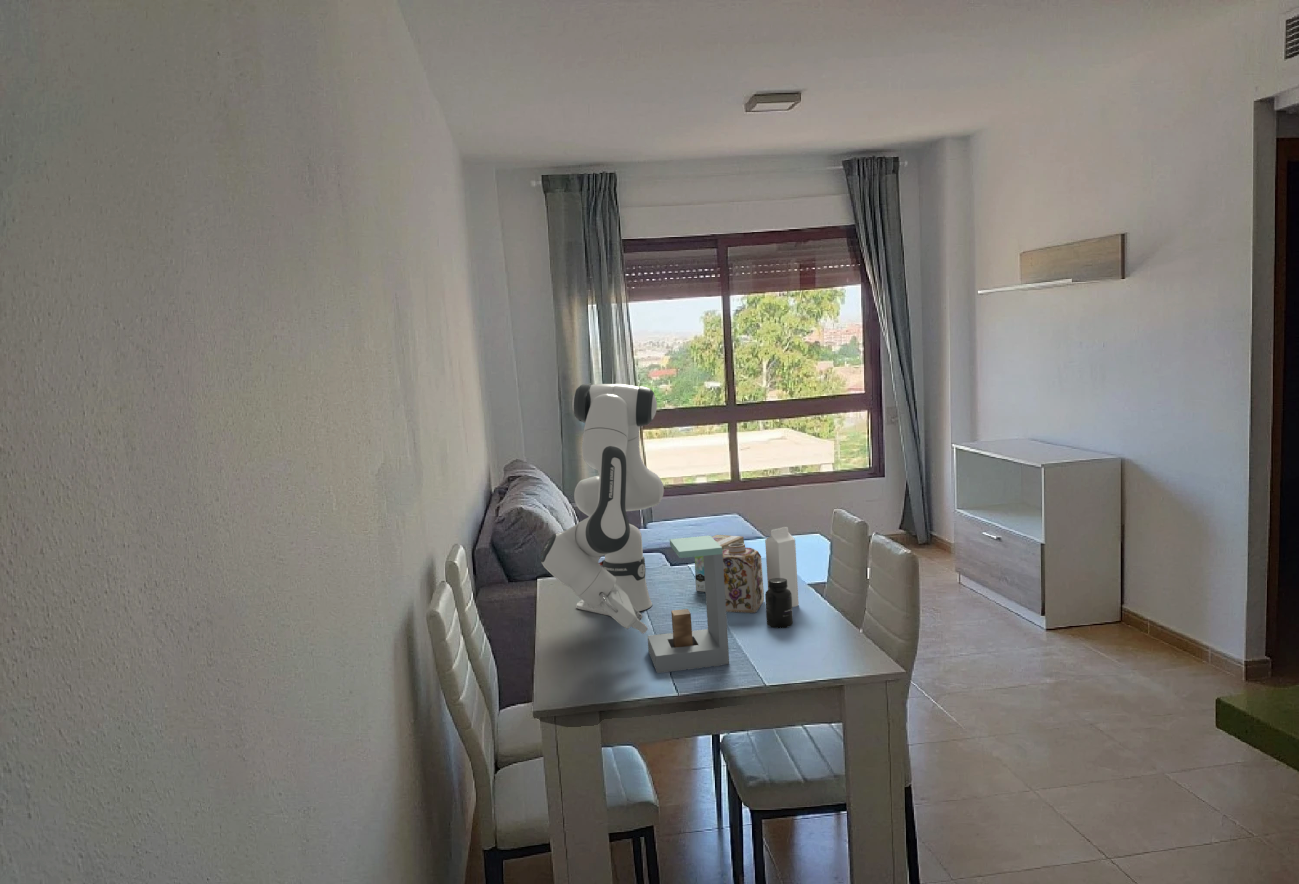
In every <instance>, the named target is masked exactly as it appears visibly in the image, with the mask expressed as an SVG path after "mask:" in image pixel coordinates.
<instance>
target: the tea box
mask: <svg viewBox="0 0 1299 884" xmlns="http://www.w3.org/2000/svg"><path fill="white" fill-rule="evenodd" d="M711 537H712V538H713V539H714V540H715V541H716V542H717V543H718V544H719V545H720V546H721V547H722V550H724V549H728V545H730V544H733V543H744V544H745V539H744V536H741V535H740V536H739V535H725V534H716V535H713V536H711ZM694 572H695V574H694V576H695V591H697V592H701V593H703V592H704V593H706V591H705V576H704V560H703V556H697V557H694Z"/></svg>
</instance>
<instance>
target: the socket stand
mask: <svg viewBox="0 0 1299 884" xmlns="http://www.w3.org/2000/svg"><path fill="white" fill-rule="evenodd" d="M712 537H713V536H711V535H701V536H700V535H699V536H693V537H682V538H681V537H680V538H670V539H669V546H670V547H671V549H672V550H673V551H674V553H675V554H676V555H677V556H678V558H679V559H685V558H695V557H697V556H703V560H704V576H705V591H706V592H705V605H706V607H705V608H706V619H707V622H706V623H707V629H698V630H697V629H696V630H692V640H693V646H685V647H676V648H674V643H673V632H671V633H670V632H669V633H661V634H660V633H659V634H652V635H647V646H648V647H647V648H648V649H647V650H648V653H649V656H650V659H651V661H652V663H653V666H654V668H655V670H656V671H655V672H656V673H657V674H660V673H670V672H679V671H686V669H688V670H694V668H697V669H703V668H702V667H705V668H711V667H710V666H714V667H721V666H723V665H729V664H730V655H729V653H730V652H729V637H728V619H727V612H726V601H725V585H724V569H723V552H722V547H721V546H720V545H719V544H718V543H717V542H716V541H715V540H714V539H713V538H712Z"/></svg>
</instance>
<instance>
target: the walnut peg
mask: <svg viewBox="0 0 1299 884" xmlns="http://www.w3.org/2000/svg"><path fill="white" fill-rule="evenodd" d="M670 613H671V614H670V615H671V626H672V633H673V643H674V648H676V647H685V646H693V640H692V631H693V627H692V613H691V611H690V610H689V608H682V609H674V610H671V612H670Z"/></svg>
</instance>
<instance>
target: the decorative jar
mask: <svg viewBox="0 0 1299 884" xmlns="http://www.w3.org/2000/svg"><path fill="white" fill-rule="evenodd" d="M722 552H723V569H724V585H725V601H726V613H744V614H745V613H749V614H755V613H757V612H758V610H759V609H760V607H761V605H762V604H763V603H764V601H765V600H764V599H765V594H764V593H765V592H764V579H763V577H764V576H763V563H762V556H761V554H760V553H759V550H757V549H754V548H753V547H746V544H745V542H744V543H733V544H730V545H728V549H724V550H722Z"/></svg>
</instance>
